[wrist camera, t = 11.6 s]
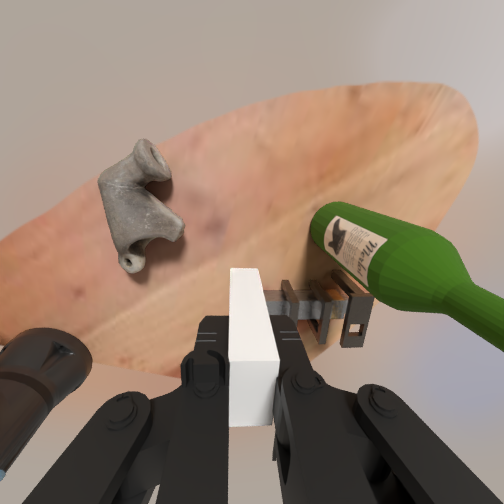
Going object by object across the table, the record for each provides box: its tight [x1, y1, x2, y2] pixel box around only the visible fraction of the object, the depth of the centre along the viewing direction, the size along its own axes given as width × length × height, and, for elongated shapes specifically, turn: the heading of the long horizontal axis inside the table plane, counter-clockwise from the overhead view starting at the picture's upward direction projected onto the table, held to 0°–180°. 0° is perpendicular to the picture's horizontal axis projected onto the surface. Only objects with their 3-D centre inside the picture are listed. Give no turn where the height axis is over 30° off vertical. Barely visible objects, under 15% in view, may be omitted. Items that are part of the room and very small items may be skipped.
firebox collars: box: [282, 270, 375, 348], centre depth 43 cm, size 12×10×10 cm
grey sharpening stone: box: [263, 290, 349, 320], centre depth 46 cm, size 18×4×4 cm, turn 88°
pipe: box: [98, 139, 185, 273], centre depth 36 cm, size 16×9×15 cm
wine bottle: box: [310, 202, 504, 352], centre depth 28 cm, size 9×9×32 cm
